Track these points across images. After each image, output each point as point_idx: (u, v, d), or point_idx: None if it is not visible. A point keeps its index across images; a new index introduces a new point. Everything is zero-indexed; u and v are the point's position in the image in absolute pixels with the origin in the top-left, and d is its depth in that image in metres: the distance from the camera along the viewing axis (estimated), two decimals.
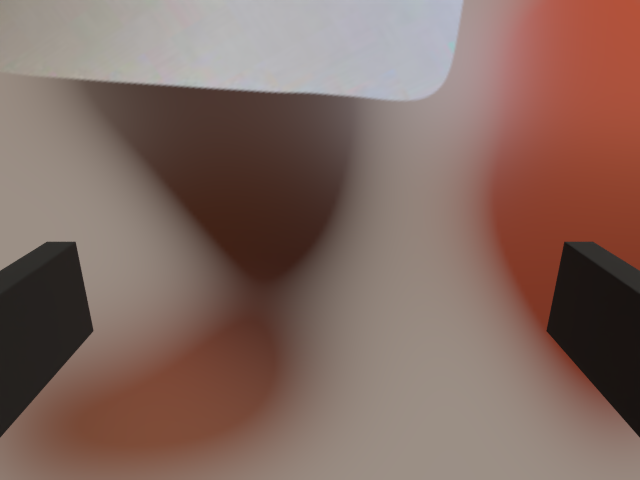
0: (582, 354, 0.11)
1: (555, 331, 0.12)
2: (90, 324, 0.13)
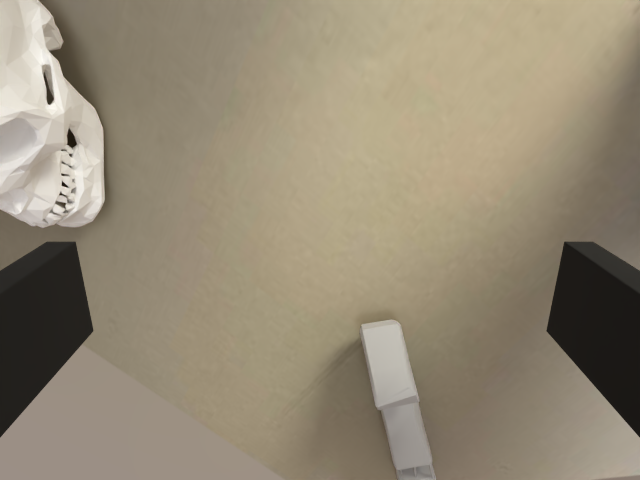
0: (582, 354, 0.11)
1: (555, 331, 0.12)
2: (90, 324, 0.13)
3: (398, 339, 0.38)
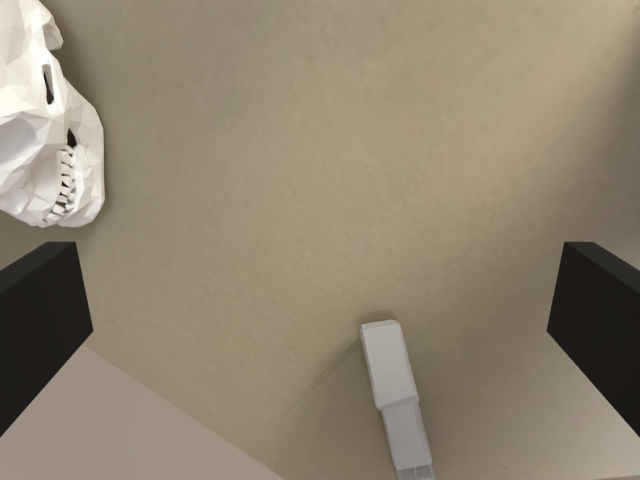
0: (582, 354, 0.11)
1: (555, 331, 0.12)
2: (90, 324, 0.13)
3: (398, 339, 0.38)
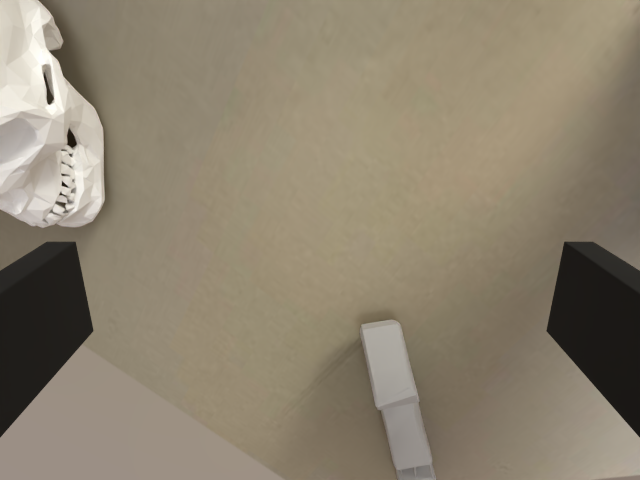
0: (582, 354, 0.11)
1: (555, 331, 0.12)
2: (90, 324, 0.13)
3: (398, 339, 0.38)
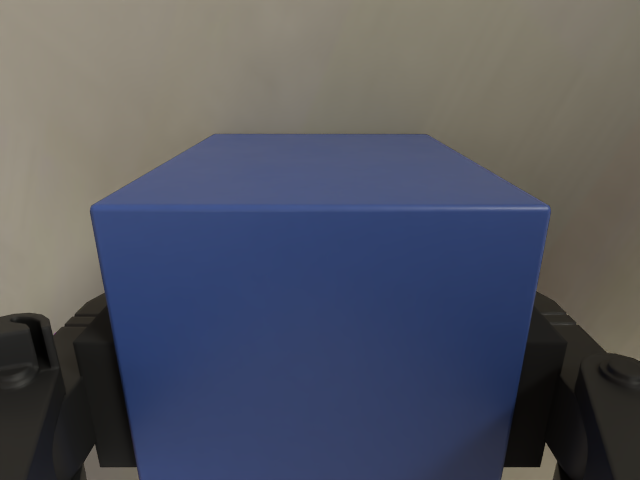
0: None
1: None
2: None
3: None
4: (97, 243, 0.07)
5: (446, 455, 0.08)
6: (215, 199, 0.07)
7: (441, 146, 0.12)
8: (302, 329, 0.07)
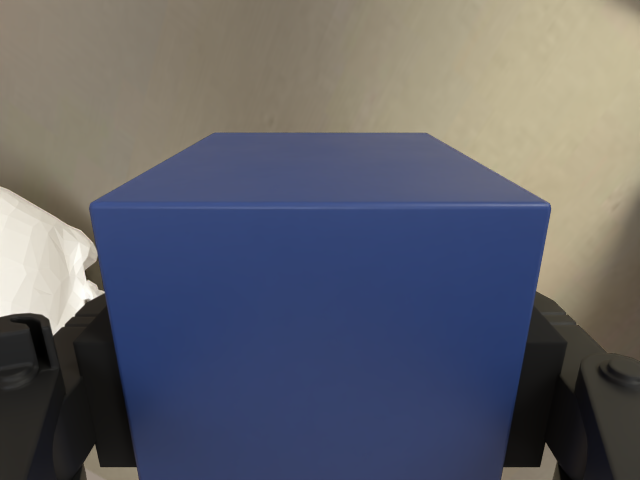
0: None
1: None
2: None
3: None
4: (97, 240, 0.07)
5: (445, 454, 0.08)
6: (215, 196, 0.07)
7: (441, 145, 0.12)
8: (302, 327, 0.07)
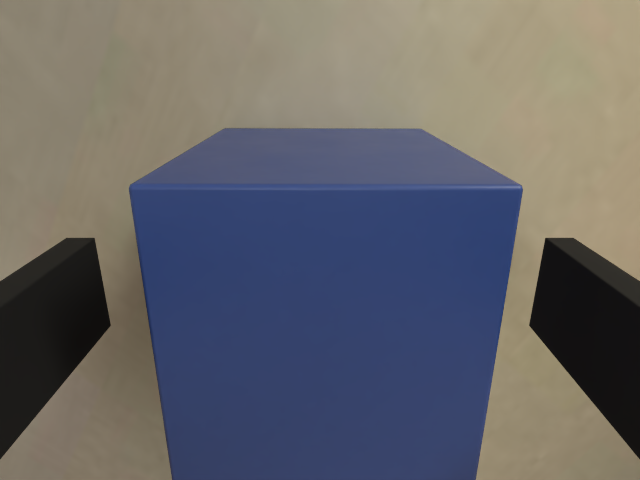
0: (561, 347, 0.11)
1: (537, 326, 0.13)
2: (108, 319, 0.13)
3: None
4: (135, 217, 0.08)
5: (435, 407, 0.09)
6: (236, 180, 0.08)
7: (433, 139, 0.13)
8: (310, 293, 0.08)
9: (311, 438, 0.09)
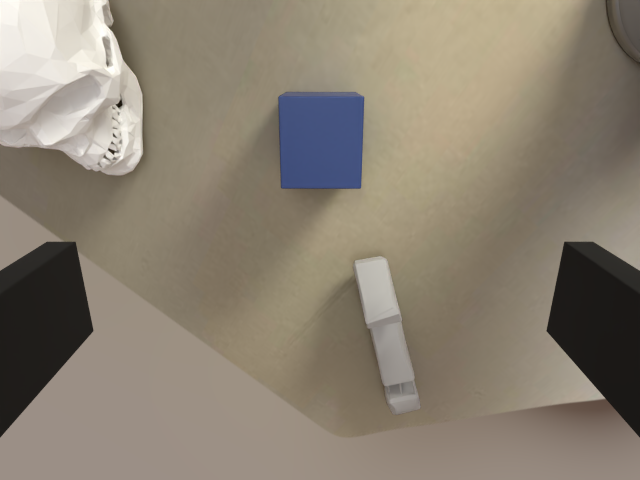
0: (582, 354, 0.11)
1: (555, 331, 0.12)
2: (90, 324, 0.13)
3: (385, 271, 0.45)
4: (279, 103, 0.35)
5: (348, 155, 0.37)
6: (301, 96, 0.36)
7: (355, 93, 0.40)
8: (317, 123, 0.36)
9: (317, 165, 0.37)
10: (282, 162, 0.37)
